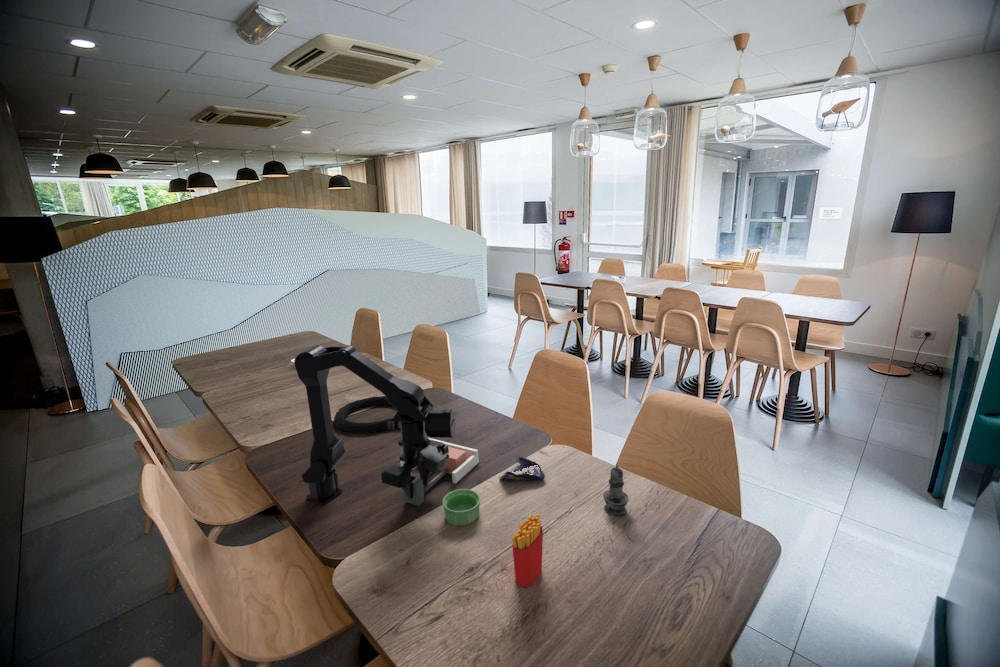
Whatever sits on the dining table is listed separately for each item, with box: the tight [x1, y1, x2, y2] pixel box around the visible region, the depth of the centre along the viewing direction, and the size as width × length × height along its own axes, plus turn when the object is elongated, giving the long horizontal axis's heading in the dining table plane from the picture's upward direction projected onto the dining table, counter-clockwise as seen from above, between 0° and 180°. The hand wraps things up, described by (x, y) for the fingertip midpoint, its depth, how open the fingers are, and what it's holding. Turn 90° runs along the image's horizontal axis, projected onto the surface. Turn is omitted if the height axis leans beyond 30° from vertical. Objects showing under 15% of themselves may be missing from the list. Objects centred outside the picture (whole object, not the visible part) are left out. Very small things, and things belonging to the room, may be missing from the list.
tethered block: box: [404, 447, 466, 507], centre depth 120 cm, size 21×6×6 cm, turn 151°
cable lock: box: [333, 395, 401, 434], centre depth 162 cm, size 28×4×30 cm
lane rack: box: [399, 436, 480, 484], centre depth 129 cm, size 12×19×4 cm, turn 61°
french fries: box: [511, 513, 544, 588], centre depth 87 cm, size 8×4×12 cm, turn 146°
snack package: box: [498, 455, 546, 481], centre depth 122 cm, size 12×6×12 cm
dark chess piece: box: [603, 464, 629, 518], centre depth 106 cm, size 6×6×12 cm
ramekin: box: [442, 488, 481, 527], centre depth 106 cm, size 9×9×4 cm
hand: (418, 491), depth 114 cm, fingers closed on tethered block, 5 cm apart
